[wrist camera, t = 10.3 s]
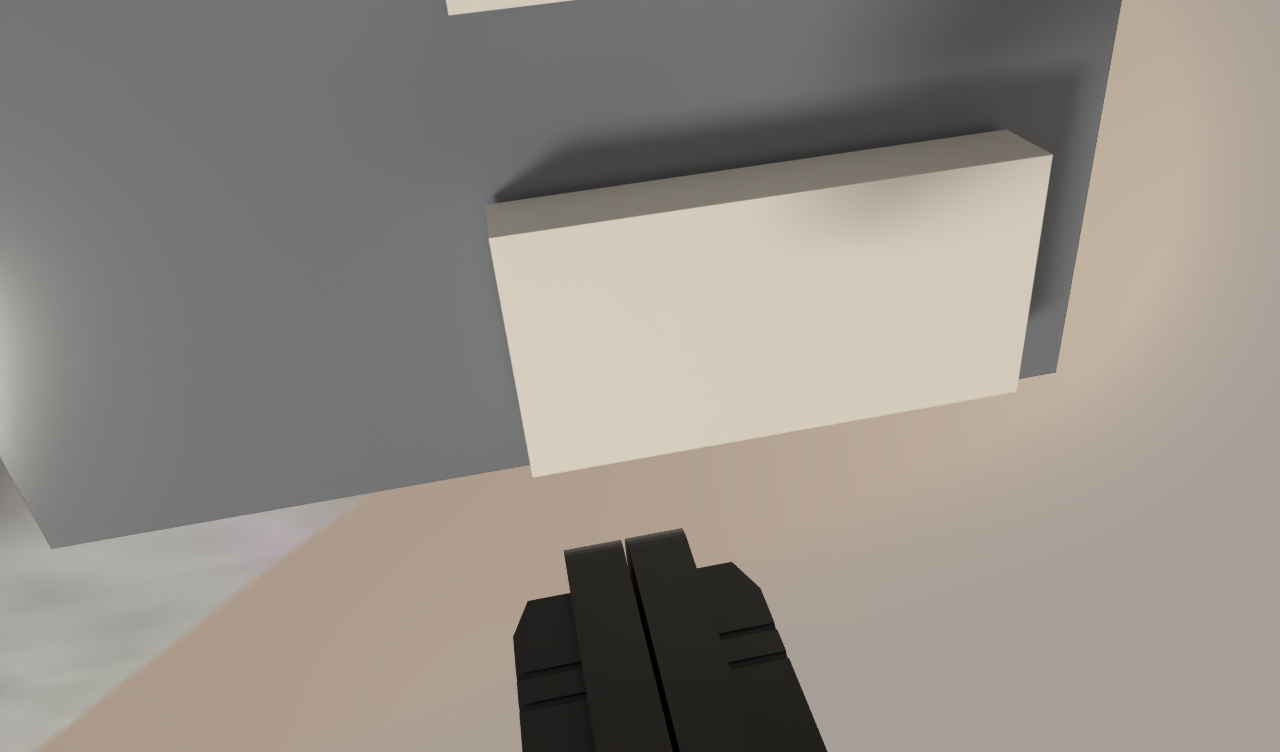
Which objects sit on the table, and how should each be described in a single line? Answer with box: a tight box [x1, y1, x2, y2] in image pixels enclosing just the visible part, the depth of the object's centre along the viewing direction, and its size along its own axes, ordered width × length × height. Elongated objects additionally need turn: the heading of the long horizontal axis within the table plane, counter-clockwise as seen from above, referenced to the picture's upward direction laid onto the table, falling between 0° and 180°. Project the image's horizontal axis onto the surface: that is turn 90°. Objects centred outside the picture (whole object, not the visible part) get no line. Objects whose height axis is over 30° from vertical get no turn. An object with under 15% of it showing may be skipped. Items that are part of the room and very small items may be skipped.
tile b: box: [485, 129, 1053, 477], centre depth 18 cm, size 5×2×10 cm
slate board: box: [0, 0, 1122, 549], centre depth 16 cm, size 17×22×1 cm
